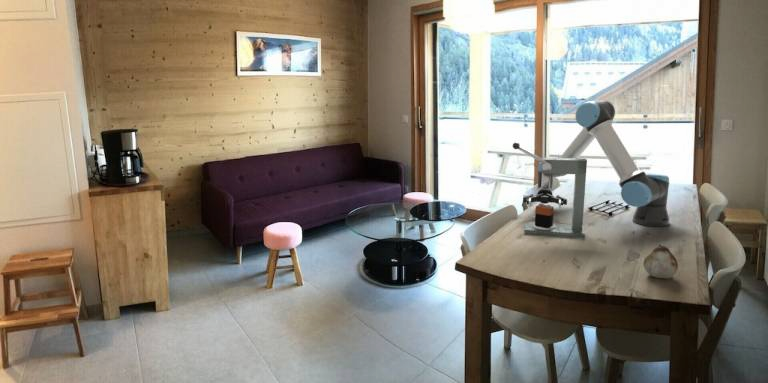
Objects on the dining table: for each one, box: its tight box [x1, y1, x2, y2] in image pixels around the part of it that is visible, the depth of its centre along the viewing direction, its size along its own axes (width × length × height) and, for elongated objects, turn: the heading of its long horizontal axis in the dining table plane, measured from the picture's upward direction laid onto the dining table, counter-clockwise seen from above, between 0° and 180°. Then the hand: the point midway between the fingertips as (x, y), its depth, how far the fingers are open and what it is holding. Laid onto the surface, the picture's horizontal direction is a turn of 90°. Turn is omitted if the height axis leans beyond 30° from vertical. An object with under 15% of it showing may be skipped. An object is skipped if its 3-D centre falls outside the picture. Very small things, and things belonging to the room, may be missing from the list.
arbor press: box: [512, 141, 588, 239], centre depth 216 cm, size 32×14×40 cm, turn 72°
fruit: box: [643, 244, 679, 279], centre depth 166 cm, size 10×9×12 cm
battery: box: [534, 202, 554, 228], centre depth 219 cm, size 4×7×10 cm, turn 49°
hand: (544, 204), depth 229 cm, fingers open, 13 cm apart
